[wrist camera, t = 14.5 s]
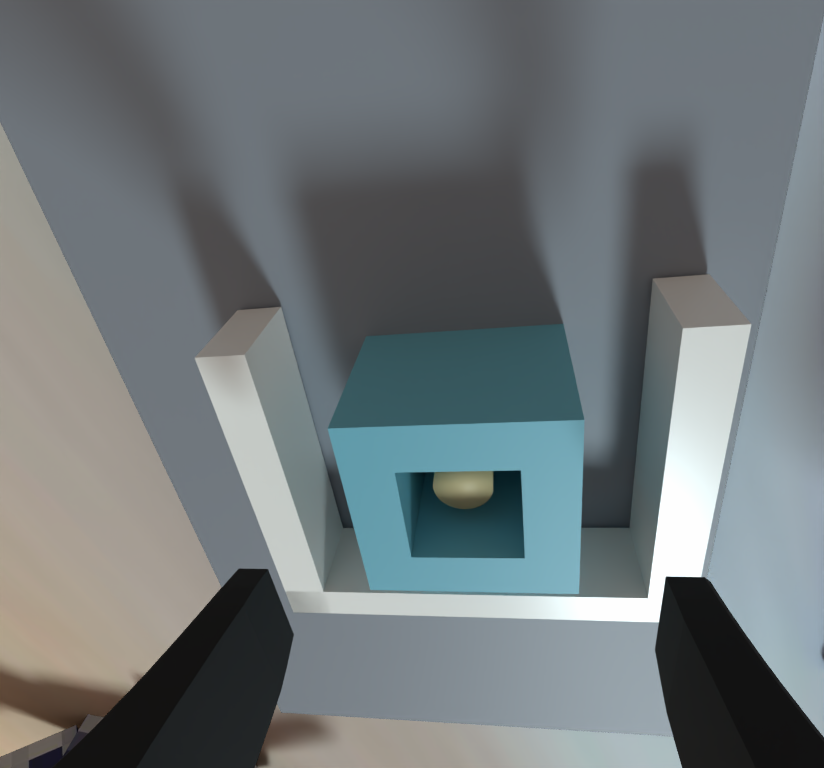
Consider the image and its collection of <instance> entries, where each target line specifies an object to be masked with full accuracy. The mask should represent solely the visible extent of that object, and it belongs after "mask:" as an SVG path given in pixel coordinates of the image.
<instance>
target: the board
mask: <svg viewBox="0 0 824 768" xmlns="http://www.w3.org/2000/svg"><path fill="white" fill-rule="evenodd" d="M823 17H824V0H0V122H1V124H2V127H3V129H4V131H5V133H6V135H7V137H8V139H9V141H10V143H11V145H12V148H13V150H14V152H15V154H16V156H17V158H18V160H19V162H20V164H21V166H22V169H23V171H24V173H25V175H26V177H27V179H28V181H29V183H30V185H31V187H32V190H33V192H34V194H35V196H36V198H37V200H38V202H39V204H40V206H41V209H42V211H43V213H44V215H45V217H46V219H47V221H48V223H49V225H50V227H51V230H52V232H53V234H54V236H55V238H56V240H57V242H58V244H59V246H60V248H61V251H62V253H63V255H64V257H65V259H66V261H67V263H68V265H69V267H70V269H71V272H72V274H73V276H74V278H75V280H76V282H77V284H78V286H79V288H80V290H81V293H82V295H83V297H84V299H85V301H86V303H87V305H88V307H89V309H90V311H91V314H92V316H93V318H94V320H95V322H96V324H97V326H98V328H99V330H100V333H101V335H102V337H103V339H104V341H105V343H106V345H107V347H108V349H109V351H110V354H111V356H112V358H113V360H114V362H115V364H116V366H117V368H118V370H119V372H120V375H121V377H122V379H123V381H124V383H125V385H126V387H127V389H128V391H129V393H130V396H131V398H132V400H133V402H134V404H135V406H136V408H137V410H138V412H139V414H140V417H141V419H142V421H143V423H144V425H145V427H146V429H147V431H148V433H149V435H150V438H151V440H152V442H153V444H154V446H155V448H156V450H157V452H158V454H159V457H160V459H161V461H162V463H163V465H164V467H165V469H166V471H167V473H168V475H169V478H170V480H171V482H172V484H173V486H174V488H175V490H176V492H177V494H178V496H179V499H180V501H181V503H182V505H183V507H184V509H185V511H186V513H187V515H188V517H189V520H190V522H191V524H192V526H193V528H194V530H195V532H196V534H197V536H198V538H199V541H200V543H201V545H202V547H203V549H204V551H205V553H206V555H207V557H208V559H209V562H210V564H211V566H212V568H213V570H214V572H215V574H216V576H217V578H218V580H219V583H220V585H221V587H223V586H224V584H225V583H226V582H227V581H228V580H229V579H230V578H231V577H232V575H233V574H234V573H235V572H236V571H237V570H238V569H239V568H242V569H268V570H269V573H270V575H271V578H272V580H273V583H274V585H275V588H276V591H277V593H278V596H279V598H280V601H281V603H282V606H283V608H284V611H285V613H286V616H287V618H288V621H289V623H290V626H291V628H292V631H293V633H294V637H293V641H292V646H291V651H290V655H289V660H288V665H287V669H286V673H285V677H284V681H283V685H282V689H281V693H280V696H279V699H278V702H277V704H278V707H279V709H280V711H281V713H298V714H314V715H330V716H346V717H363V718H379V719H395V720H412V721H428V722H444V723H461V724H477V725H493V726H510V727H526V728H542V729H559V730H575V731H591V732H608V733H624V734H640V735H656V736H673V734H672V730H671V727H670V723H669V720H668V716H667V712H666V707H665V702H664V697H663V691H662V686H661V681H660V675H659V670H658V664H657V659H656V653H655V645H656V638H657V632H658V625H659V622H629V621H592V620H555V619H519V618H482V617H446V616H409V615H372V614H336V613H299V612H293V610H292V608H291V605H290V602H289V600H288V597H287V595H286V592H285V590H284V587H283V584H282V582H281V579H280V577H279V574H278V572H277V569H276V566H275V564H274V561H273V559H272V556H271V554H270V551H269V548H268V546H267V543H266V541H265V538H264V536H263V533H262V530H261V528H260V525H259V523H258V520H257V517H256V515H255V512H254V510H253V507H252V505H251V502H250V499H249V497H248V494H247V492H246V489H245V487H244V484H243V481H242V479H241V476H240V474H239V471H238V469H237V466H236V463H235V461H234V458H233V456H232V453H231V451H230V448H229V445H228V443H227V440H226V438H225V435H224V432H223V430H222V427H221V425H220V422H219V420H218V417H217V414H216V412H215V409H214V407H213V404H212V402H211V399H210V396H209V394H208V391H207V389H206V386H205V384H204V381H203V378H202V376H201V373H200V371H199V368H198V366H197V363H196V360H195V357H196V356H197V355H198V353H199V352H200V351H201V350H202V349H203V348H204V347H205V346H206V345H207V344H208V342H209V341H210V340H211V339H212V338H213V337H214V336H215V335H216V334H217V332H218V331H219V330H220V329H221V328H222V327H223V326H224V325H225V324H226V322H227V321H228V320H229V319H230V318H231V317H232V316H233V315H234V314H235V312H236V311H237V310H246V309H259V308H272V307H281V308H282V312H283V316H284V319H285V323H286V326H287V330H288V333H289V337H290V341H291V344H292V348H293V351H294V355H295V358H296V362H297V366H298V369H299V373H300V376H301V380H302V383H303V387H304V390H305V394H306V398H307V401H308V405H309V408H310V412H311V415H312V419H313V423H314V426H315V430H316V433H317V437H318V440H319V444H320V447H321V451H322V455H323V458H324V462H325V465H326V469H327V472H328V476H329V480H330V483H331V487H332V490H333V494H334V497H335V501H336V505H337V508H338V512H339V515H340V519H341V522H342V526H343V528H354V526H353V523H352V519H351V515H350V511H349V507H348V504H347V500H346V496H345V492H344V489H343V485H342V481H341V477H340V474H339V470H338V466H337V462H336V458H335V455H334V451H333V447H332V443H331V440H330V436H329V432H328V426H329V424H330V422H331V419H332V417H333V414H334V412H335V410H336V407H337V405H338V402H339V400H340V398H341V395H342V393H343V390H344V388H345V386H346V383H347V381H348V378H349V376H350V374H351V371H352V369H353V366H354V364H355V362H356V359H357V357H358V355H359V352H360V350H361V347H362V345H363V343H364V340H365V338H366V336H379V335H395V334H410V333H426V332H442V331H458V330H473V329H489V328H505V327H521V326H536V325H552V324H564V329H565V333H566V338H567V342H568V347H569V351H570V356H571V360H572V365H573V370H574V374H575V379H576V383H577V388H578V392H579V397H580V401H581V406H582V411H583V415H584V420H585V421H584V453H583V485H582V517H581V528H629V527H630V517H631V506H632V495H633V484H634V474H635V463H636V452H637V442H638V431H639V420H640V409H641V399H642V388H643V377H644V367H645V356H646V345H647V334H648V324H649V313H650V302H651V292H652V281H653V279H654V278H667V277H680V276H693V275H706V274H710V276H711V277H712V278H713V279H714V280H715V281H716V283H717V284H718V285H719V286H720V287H721V289H722V290H723V291H724V292H725V293H726V295H727V296H728V297H729V298H730V299H731V300H732V302H733V303H734V304H735V305H736V306H737V308H738V309H739V310H740V311H741V312H742V314H743V315H744V316H745V317H746V318H747V319H748V321H749V322H750V323H751V329H750V334H749V339H748V344H747V349H746V354H745V359H744V364H743V369H742V374H741V379H740V384H739V389H738V394H737V399H736V404H735V409H734V414H733V419H732V424H731V429H730V435H729V440H728V445H727V450H726V455H725V460H724V465H723V470H722V475H721V480H720V485H719V490H718V495H717V500H716V505H715V510H714V515H713V520H712V525H711V530H710V535H709V540H708V545H707V550H706V555H705V560H704V565H703V570H702V575H701V577H705V578H706V579H707V575H708V570H709V565H710V560H711V555H712V551H713V546H714V541H715V536H716V531H717V527H718V522H719V517H720V512H721V507H722V502H723V498H724V493H725V488H726V483H727V478H728V474H729V469H730V464H731V459H732V454H733V450H734V445H735V440H736V435H737V430H738V426H739V421H740V416H741V411H742V406H743V401H744V397H745V392H746V387H747V382H748V377H749V373H750V368H751V363H752V358H753V353H754V349H755V344H756V339H757V334H758V329H759V324H760V320H761V315H762V310H763V305H764V300H765V296H766V291H767V286H768V281H769V276H770V272H771V267H772V262H773V257H774V252H775V248H776V243H777V238H778V233H779V228H780V223H781V219H782V214H783V209H784V204H785V199H786V195H787V190H788V185H789V180H790V175H791V171H792V166H793V161H794V156H795V151H796V147H797V142H798V137H799V132H800V127H801V122H802V118H803V113H804V108H805V103H806V98H807V94H808V89H809V84H810V79H811V74H812V70H813V65H814V60H815V55H816V50H817V45H818V41H819V36H820V31H821V26H822V21H823ZM433 489H434V492H435V494H436V496H437V497H438V498H439V499H440V500H441V501H442V502H443V503H445V504H446V505H448V506H451V507H454V508H458V509H472V508H476V507H479V506H481V505H483V504H485V503H486V502H487V501H488V500H489V499H490V497H491V496H492V493H493V471H459V472H435V473H434V480H433Z"/></svg>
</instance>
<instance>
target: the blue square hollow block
mask: <svg viewBox="0 0 824 768" xmlns="http://www.w3.org/2000/svg"><path fill="white" fill-rule="evenodd" d="M584 421H585V420H584V415H583V411H582V406H581V401H580V397H579V392H578V388H577V383H576V379H575V374H574V370H573V365H572V360H571V356H570V351H569V347H568V342H567V338H566V333H565V329H564V324H552V325H536V326H521V327H505V328H489V329H473V330H458V331H442V332H426V333H410V334H395V335H379V336H366V338H365V340H364V343H363V345H362V347H361V350H360V352H359V355H358V357H357V359H356V362H355V364H354V366H353V369H352V371H351V374H350V376H349V378H348V381H347V383H346V386H345V388H344V390H343V393H342V395H341V398H340V400H339V402H338V405H337V407H336V410H335V412H334V414H333V417H332V419H331V422H330V424H329V426H328V432H329V436H330V440H331V443H332V447H333V451H334V455H335V458H336V462H337V466H338V470H339V474H340V477H341V481H342V485H343V489H344V492H345V496H346V500H347V504H348V507H349V511H350V515H351V519H352V523H353V526H354V530H355V534H356V538H357V541H358V545H359V549H360V553H361V556H362V560H363V564H364V568H365V572H366V575H367V579H368V583H369V587H370V590H396V591H446V592H497V593H547V594H579V581H580V549H581V517H582V485H583V453H584ZM459 471H493V493H492V496H491V497H490V499H489V500H488V501H487V502H486V503H485V504H483V505H481V506H479V507H476V508H472V509H458V508H454V507H451V506H448V505H446V504H445V503H443V502H442V501H441V500H440V499H439V498H438V497H437V496H436V494H435V492H434V489H433V480H434V473H435V472H459Z"/></svg>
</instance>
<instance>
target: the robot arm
mask: <svg viewBox="0 0 824 768" xmlns="http://www.w3.org/2000/svg"><path fill="white" fill-rule="evenodd" d="M293 637H294V633H293V631H292V628H291V626H290V623H289V621H288V618H287V616H286V613H285V611H284V608H283V606H282V603H281V601H280V598H279V596H278V593H277V591H276V588H275V585H274V583H273V580H272V578H271V575H270V573H269V570H268V569H242V568H239V569H238V570H237V571H236V572H235V573H234V574H233V575H232V577H231V578H230V579H229V580H228V581H227V582H226V583H225V584H224V586H223V587H222V588H221V589H220V590H219V591H218V592H217V594H216V595H215V596H214V597H213V598H212V599H211V601H210V602H209V603H208V604H207V605H206V606H205V607H204V609H203V610H202V611H201V612H200V613H199V614H198V616H197V617H196V618H195V619H194V620H193V621H192V622H191V624H190V625H189V626H188V627H187V628H186V629H185V630H184V632H183V633H182V634H181V635H180V636H179V637H178V638H177V640H176V641H175V642H174V643H173V644H172V645H171V646H170V647H169V648H168V649H167V651H166V652H165V653H164V654H163V655H162V656H161V657H160V658H159V659H158V661H157V662H156V663H155V664H154V665H153V666H152V667H151V668H150V669H149V671H148V672H147V673H146V674H145V675H144V676H143V677H142V678H141V679H140V680H139V681H138V682H137V684H136V685H135V686H134V687H133V688H132V689H131V690H130V691H129V692H128V693H127V694H126V695H125V696H124V697H123V698H122V699H121V700H120V701H119V702H118V703H117V704H116V705H115V706H114V707H113V708H112V709H111V710H110V712H109V713H108V714H107V715H106V716H105V717H104V718H103V719H102V720H101V721H100V722H99V723H98V724H97V725H96V726H95V727H94V728H93V729H92V730H91V731H90V732H89V733H88V734H87V735H86V736H85V737H84V738H83V739H82V740H81V741H80V742H79V743H78V744H77V745H75V746H74V747H73V748H72V749H71V750H70V751H69V752H68V753H67V754H66V755H65V756H64V757H63V758H62V759H61V760H60V761H59V762H57V763H56V764H55V765H54V766H53V767H52V768H255V765H256V762H257V759H258V756H259V754H260V751H261V748H262V745H263V742H264V739H265V737H266V734H267V731H268V728H269V725H270V722H271V719H272V716H273V713H274V710H275V707H276V705H277V702H278V699H279V696H280V693H281V689H282V685H283V681H284V677H285V673H286V669H287V665H288V660H289V655H290V651H291V646H292V641H293ZM655 653H656V659H657V664H658V670H659V675H660V681H661V686H662V691H663V697H664V702H665V707H666V712H667V716H668V720H669V723H670V727H671V730H672V734H673V737H674V741H675V744H676V747H677V751H678V754H679V758H680V761H681V765H682V768H824V737H823V736H822V735H821V733H820V732H819V731H818V730H817V728H816V727H815V726H814V725H813V723H812V722H811V721H810V720H809V718H808V717H807V716H806V714H805V713H804V712H803V711H802V709H801V708H800V707H799V705H798V704H797V703H796V701H795V700H794V699H793V698H792V696H791V695H790V694H789V692H788V691H787V690H786V689H785V687H784V686H783V685H782V683H781V682H780V681H779V680H778V678H777V677H776V675H775V674H774V673H773V671H772V670H771V669H770V667H769V666H768V665H767V663H766V662H765V661H764V659H763V658H762V657H761V655H760V654H759V652H758V651H757V650H756V648H755V647H754V645H753V644H752V643H751V641H750V640H749V638H748V637H747V636H746V634H745V633H744V631H743V630H742V628H741V627H740V626H739V624H738V623H737V621H736V620H735V618H734V617H733V615H732V614H731V612H730V611H729V610H728V608H727V607H726V605H725V604H724V602H723V600H722V599H721V597H720V596H719V594H718V593H717V591H716V590H715V588H714V587H713V585H712V584H711V582H710V581H709V580H707V579H706V578H705V577H671V576H666V577H665V584H664V591H663V598H662V605H661V611H660V618H659V625H658V632H657V638H656V645H655Z"/></svg>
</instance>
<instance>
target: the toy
mask: <svg viewBox="0 0 824 768" xmlns="http://www.w3.org/2000/svg"><path fill="white" fill-rule="evenodd" d="M103 718H104V717H99V716H94V715H89V714H88V715H87V717H86V718H85V720H84V722H83V723H82V725H81V727H80V728H79V730H78V728H77V726H76V725H75V726H73V727H70V728H68V729H66V730H63V731H61V732H59V733H56V734H54V735H51V736H49V737H47V738H44V739H42V740H40V741H37V742H35V743H32V744H30V745H28V746H25V747H23V748H20V749H18V750H16V751H13V752H11V753H9V754H6V755H4V756H1V757H0V768H52V767H53V766H54V765H55V764H56V763H57V762H59V761H60V760H61V759H62V758H63V757H64V756H65V755H66V754H67V753H68V752H69V751H70V750H71V749H72V748H73V747H74V746H75V745H77V744H78V743H79V742H80V741H81V740H82V739H83V738H84V737H85V736H86V735H87V734H88V733H89V732H90V731H91V730H92V729H93V728H94V727H95V726H96V725H97V724H98V723H99V722H100V721H101V720H102V719H103ZM255 768H258V767H257V766H256V765H255Z"/></svg>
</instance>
